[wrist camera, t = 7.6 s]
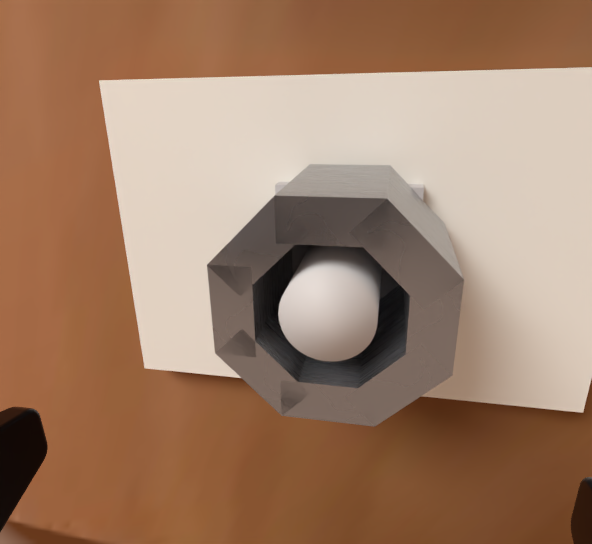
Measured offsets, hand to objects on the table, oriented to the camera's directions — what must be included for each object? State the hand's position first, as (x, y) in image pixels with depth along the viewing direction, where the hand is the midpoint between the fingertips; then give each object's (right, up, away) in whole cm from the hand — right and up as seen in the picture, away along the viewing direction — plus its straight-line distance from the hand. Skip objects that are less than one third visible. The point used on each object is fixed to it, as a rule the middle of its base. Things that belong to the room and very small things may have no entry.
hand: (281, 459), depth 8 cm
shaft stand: (+2, +4, +11) cm, 12 cm away
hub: (+2, +4, +9) cm, 10 cm away
